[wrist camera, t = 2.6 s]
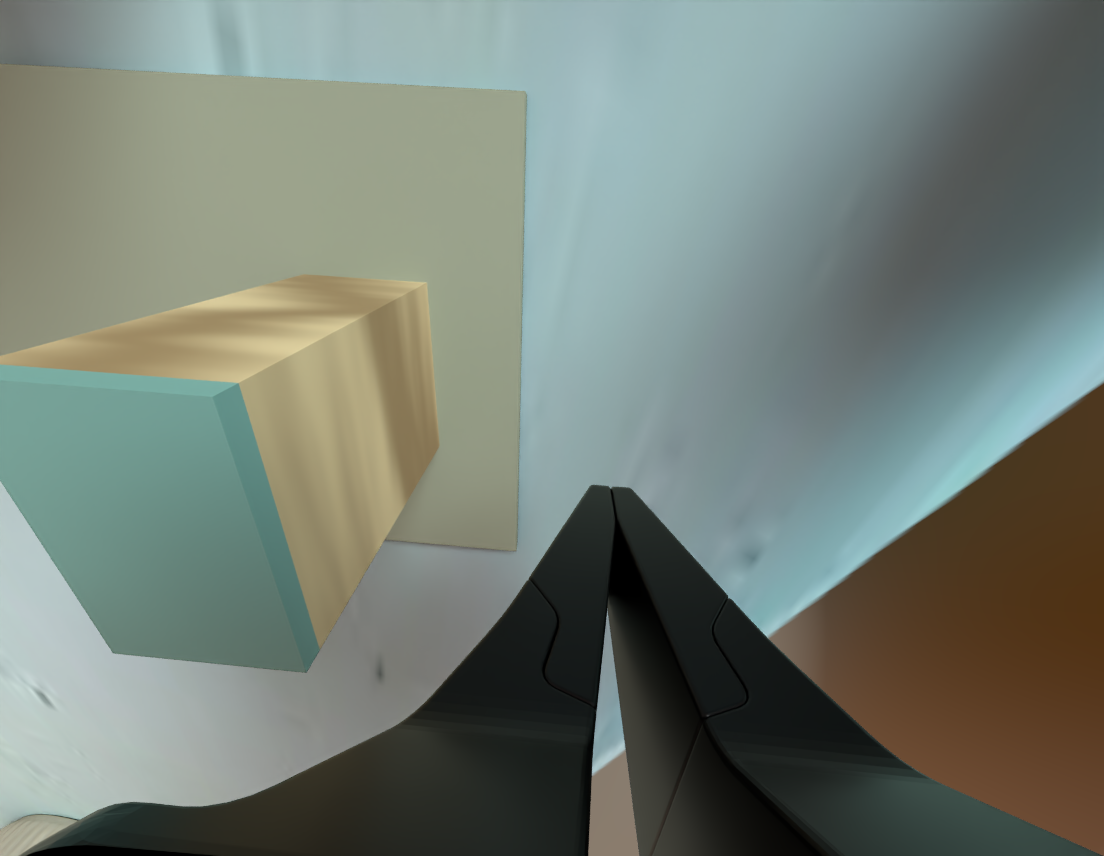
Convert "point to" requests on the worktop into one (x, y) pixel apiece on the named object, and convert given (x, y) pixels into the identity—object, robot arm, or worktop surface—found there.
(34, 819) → the ramekin
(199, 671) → the worktop surface
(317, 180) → the rubber mat
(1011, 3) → the worktop surface
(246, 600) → the beech block
